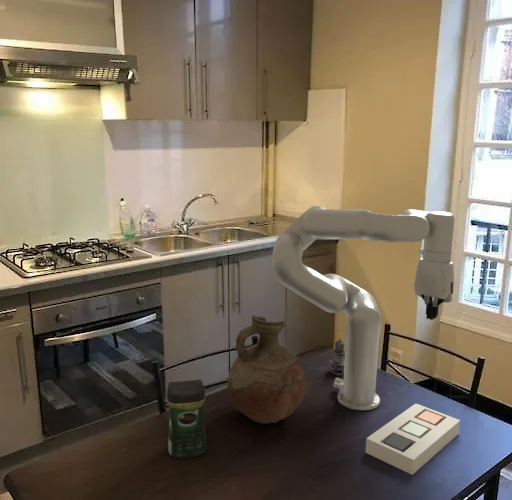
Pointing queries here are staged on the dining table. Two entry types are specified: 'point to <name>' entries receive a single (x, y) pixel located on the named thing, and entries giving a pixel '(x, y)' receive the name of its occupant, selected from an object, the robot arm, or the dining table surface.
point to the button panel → (412, 439)
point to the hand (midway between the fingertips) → (431, 318)
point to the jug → (265, 375)
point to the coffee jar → (186, 418)
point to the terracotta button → (430, 418)
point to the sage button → (415, 430)
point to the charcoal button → (398, 443)
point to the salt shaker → (338, 358)
